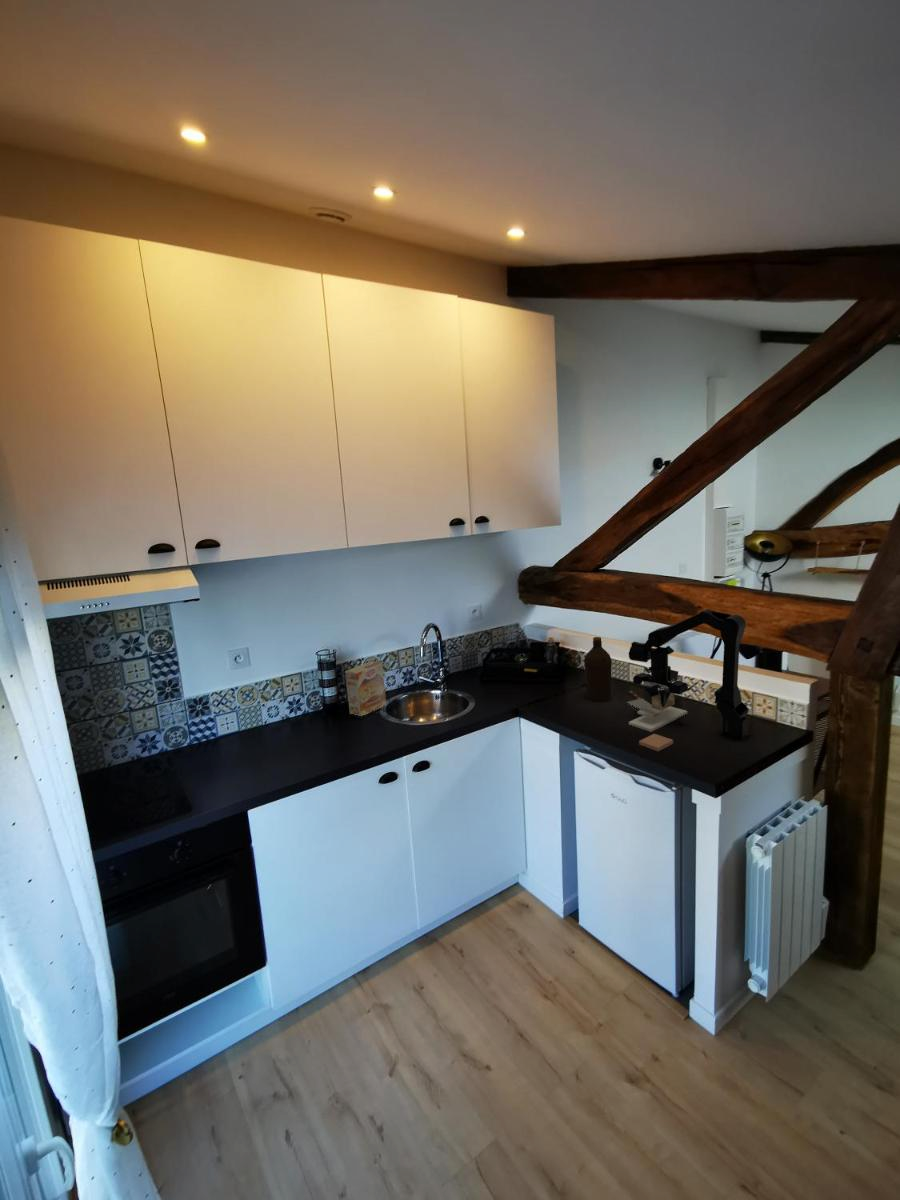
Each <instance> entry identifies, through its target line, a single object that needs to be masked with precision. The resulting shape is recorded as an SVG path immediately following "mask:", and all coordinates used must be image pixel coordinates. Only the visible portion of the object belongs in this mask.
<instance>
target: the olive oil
mask: <svg viewBox="0 0 900 1200" xmlns="http://www.w3.org/2000/svg"><path fill="white" fill-rule="evenodd" d="M602 642H603V641H602V637H601V636H594V637H593V638H592V648H590V650H589V651H588V652H587V653H586V654H585V657H584V663H583V664H584V672H585V673H584V674H585V676H584V677H585V689H586V695H587V700H588V701H591V700H592V702H595V701H596V702H598V703H601V702H608V701H610V700H611V699H612V672H613V671H612V669H613V667H612V665H613V664H612V663H613V660H612V658H611V657H612V656H611V655H610V653H609V652H607V650H606V649H604V648H603V646H602V645H603V643H602ZM596 702H595V703H596Z"/></svg>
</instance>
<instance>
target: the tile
mask: <svg viewBox="0 0 900 1200" xmlns="http://www.w3.org/2000/svg"><path fill="white" fill-rule="evenodd" d="M638 744H639V746H642V747H644V746H645V748H648V749H651V750H653V751H656V752H661V751H662V750H664V749H665V748H667V747H669V746H671V745H673V744H674V739H671V738H669V737H665V736H663V735H660V734H656V733H653V734H651V735H649V736H647V737H645V738H642V739H640V740H639V741H638Z"/></svg>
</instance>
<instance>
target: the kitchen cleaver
mask: <svg viewBox="0 0 900 1200" xmlns="http://www.w3.org/2000/svg"><path fill="white" fill-rule="evenodd" d="M627 694H628V695H629V694H630V695H631V697H632V698H633V697H634V698H633V699H634V700H629V701H626V702H627V703H629V704H630V705H631V706H632V705H633V706H634V707H635V708H636V707H637V708H639V709H640V710H641V709H644V708H646V707H650V708H652V703H649V702H648V701H646V700H645V699H643V697H641V696H640V695H639V694H638V693H636V692H635V691H634V690H629V691H628V692H627ZM630 695H629V696H630ZM635 698H636V699H635ZM627 703H626V704H627ZM629 704H628V705H629ZM630 705H629V706H630ZM631 706H630V707H631Z"/></svg>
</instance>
